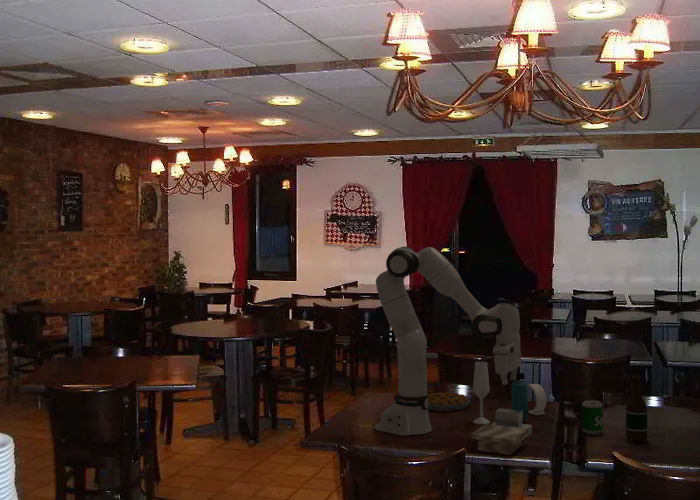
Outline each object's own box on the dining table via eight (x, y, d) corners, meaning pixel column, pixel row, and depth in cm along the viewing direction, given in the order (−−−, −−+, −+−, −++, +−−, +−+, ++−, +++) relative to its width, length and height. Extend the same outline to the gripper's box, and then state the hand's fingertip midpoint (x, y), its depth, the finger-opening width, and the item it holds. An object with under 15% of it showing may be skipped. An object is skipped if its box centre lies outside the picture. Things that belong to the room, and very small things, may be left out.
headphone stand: (537, 411, 335) (537, 383, 335) (546, 414, 330) (546, 386, 329) (528, 412, 333) (528, 384, 333) (537, 416, 328) (537, 387, 327)
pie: (410, 404, 352) (410, 393, 352) (452, 399, 362) (452, 388, 362) (436, 415, 333) (436, 403, 332) (479, 409, 342) (479, 397, 342)
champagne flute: (470, 422, 318) (470, 363, 317) (476, 419, 324) (475, 361, 323) (487, 424, 315) (486, 364, 314) (492, 420, 321) (491, 362, 320)
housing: (495, 426, 300) (495, 411, 300) (499, 423, 305) (499, 408, 304) (518, 429, 296) (518, 413, 295) (522, 426, 300) (522, 410, 300)
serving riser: (470, 451, 279) (470, 434, 279) (486, 439, 293) (486, 423, 293) (514, 457, 271) (513, 439, 271) (528, 445, 285) (528, 429, 285)
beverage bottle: (528, 424, 314) (528, 374, 313) (511, 424, 315) (511, 374, 314) (528, 420, 320) (527, 371, 319) (511, 420, 322) (511, 371, 321)
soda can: (589, 436, 296) (589, 404, 296) (578, 431, 303) (578, 400, 303) (606, 434, 298) (606, 402, 298) (595, 429, 305) (595, 398, 305)
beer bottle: (629, 436, 295) (629, 372, 294) (650, 440, 290) (650, 375, 289) (622, 441, 289) (621, 376, 288) (643, 444, 284) (643, 378, 283)
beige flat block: (486, 435, 299) (485, 428, 298) (496, 428, 309) (496, 420, 309) (522, 440, 292) (521, 432, 291) (531, 432, 302) (531, 425, 302)
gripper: (509, 341, 310) (510, 376, 310) (491, 349, 292) (491, 386, 292) (525, 342, 306) (525, 377, 307) (507, 350, 289) (508, 387, 289)
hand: (509, 382), depth 299 cm, fingers open, 8 cm apart
